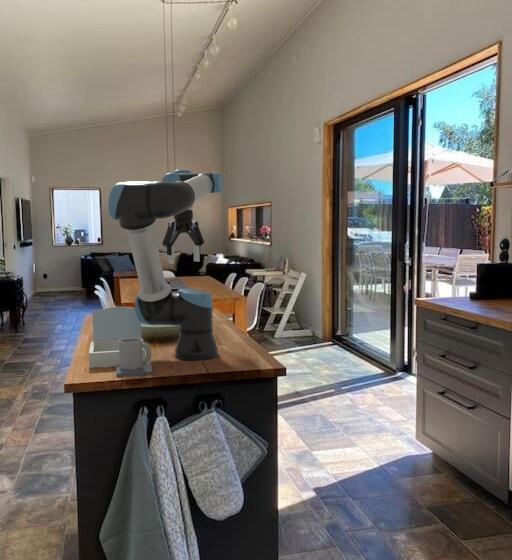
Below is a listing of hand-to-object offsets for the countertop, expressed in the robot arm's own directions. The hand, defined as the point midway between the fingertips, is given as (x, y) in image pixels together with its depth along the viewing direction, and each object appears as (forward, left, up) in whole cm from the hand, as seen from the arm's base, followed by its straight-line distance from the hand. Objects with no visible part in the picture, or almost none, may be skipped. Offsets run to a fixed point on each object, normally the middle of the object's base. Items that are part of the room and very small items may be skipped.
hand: (184, 262), depth 227 cm
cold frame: (-8, +38, -31) cm, 50 cm away
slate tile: (-26, +45, -31) cm, 60 cm away
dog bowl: (+53, -4, -31) cm, 62 cm away
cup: (-26, +44, -30) cm, 60 cm away
